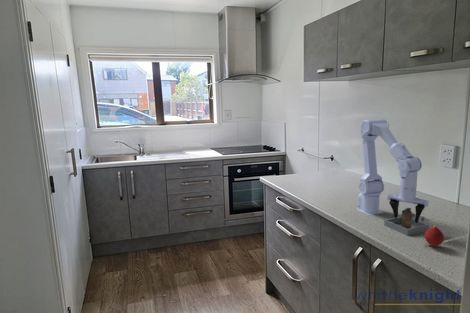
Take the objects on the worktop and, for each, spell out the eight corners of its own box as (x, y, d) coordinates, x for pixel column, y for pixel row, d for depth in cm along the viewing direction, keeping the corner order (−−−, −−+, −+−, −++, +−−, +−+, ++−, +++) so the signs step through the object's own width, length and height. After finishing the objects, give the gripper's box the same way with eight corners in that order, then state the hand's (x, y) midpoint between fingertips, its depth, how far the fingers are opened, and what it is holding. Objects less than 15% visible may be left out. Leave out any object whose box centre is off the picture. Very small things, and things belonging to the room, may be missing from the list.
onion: (435, 242, 113) (437, 222, 112) (446, 249, 107) (448, 228, 106) (420, 243, 113) (421, 222, 112) (430, 250, 107) (432, 229, 106)
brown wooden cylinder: (398, 228, 125) (400, 209, 124) (403, 224, 128) (404, 206, 127) (408, 230, 123) (409, 212, 121) (412, 227, 126) (414, 208, 124)
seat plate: (397, 217, 138) (397, 214, 137) (412, 214, 141) (412, 211, 140) (415, 224, 129) (415, 221, 129) (430, 221, 132) (431, 217, 132)
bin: (384, 226, 129) (384, 219, 128) (404, 222, 133) (404, 215, 132) (407, 237, 118) (407, 229, 118) (428, 231, 122) (428, 224, 122)
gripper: (431, 188, 120) (429, 220, 122) (392, 182, 130) (390, 212, 133) (426, 192, 115) (424, 226, 118) (386, 186, 125) (384, 217, 128)
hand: (406, 219), depth 125 cm, fingers open, 7 cm apart
